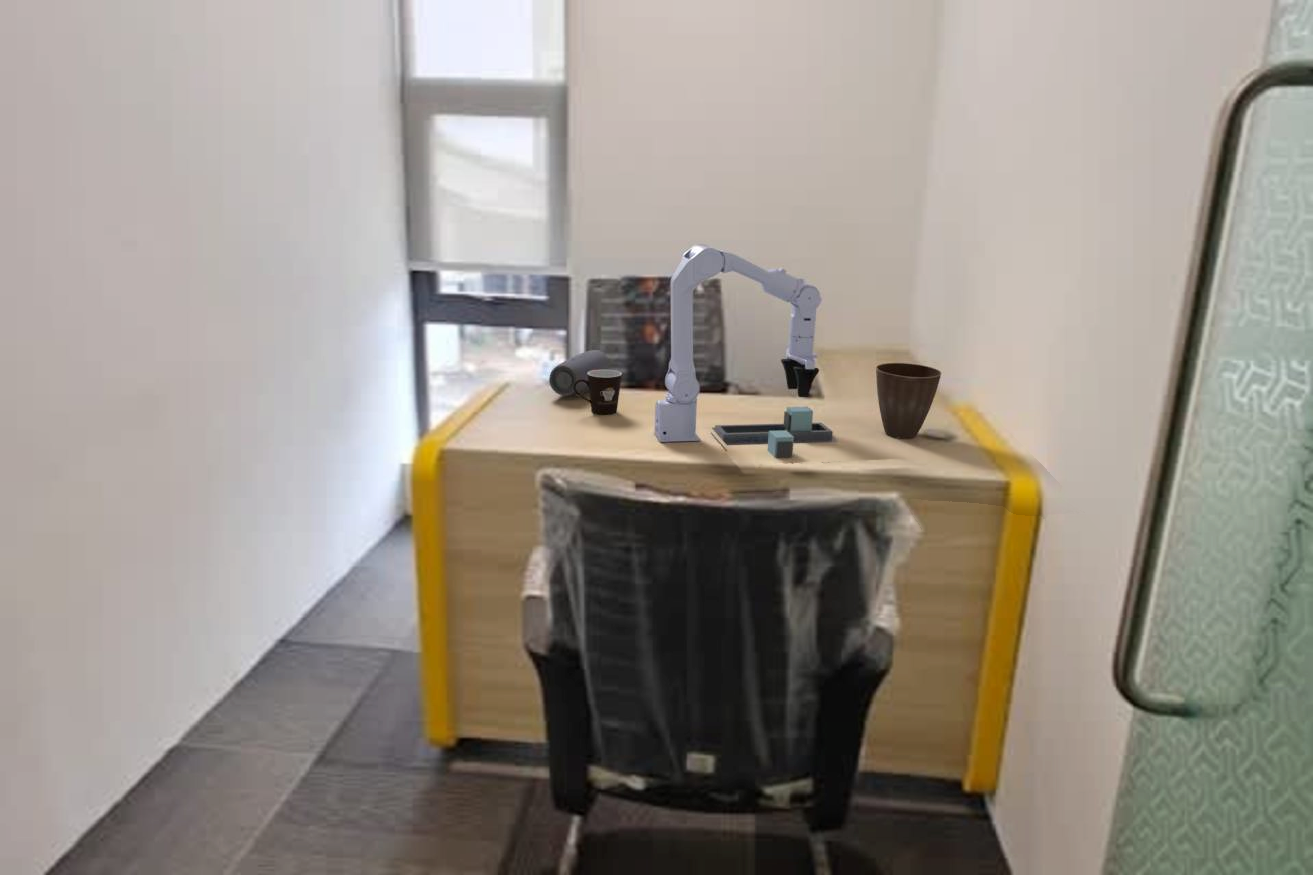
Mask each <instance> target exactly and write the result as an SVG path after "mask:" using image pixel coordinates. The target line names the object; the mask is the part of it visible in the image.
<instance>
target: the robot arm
mask: <svg viewBox="0 0 1313 875" xmlns="http://www.w3.org/2000/svg"><path fill="white" fill-rule="evenodd" d="M720 272H721V273H722V274H726V273H731V272H734V273H737V274H739V275H742V276H744V277H746V278H748V279H750V280H753V281H755V282H757V283H760V284H761V287H762V289H763V292H764V293H767V294H769V295H771V296H773V297H775V298H777V299H779V300H781V301H784V302H787V303H789V304H791V309H790V310H791V314H790V319H789V320H790V323H789V336H788V347H787V348H786V351H785V357H786V358H781V359H780V362H781V364H782V366H783V370H784V375H785V378H786V386H787V389H788V390H797V396H798V398H808V397H809V393H810V391H811V388H812V385H813V382H814V381H815V378H816V377H817V375H818V374H819V373H820V372H819V371H820V368H818V367H816V360H815V358H816V359H817V358H818V357H819V356H818V354H817V353H814V343H815V335H816V334H815V333H816V332H815V331H816V318H817V309H818V308H819V306H820V305H821V304H822V300H823V298H822V297H821V294H820V291H819V289H818V288H817V287H816V286H814V285H812V284H809V283H806V282H805V280H804V279H803V278H802V277H798V278H797V277H794V276H793V275H790V274H788V273H787V270H786V269H784V268H782V267H779V268H776V267H774V268H772V269H769V270H766V269H764V268H762V267H760V266H758V265H757V264H754V263H752V262H750V261H749V260H746V259H744V258H742V257H740V256H738V255H736V254H735V253H732V252H729V251H725V250H721V249H718V248H715V247H709V246H708V245H706V244H703V243H698V244H695V245H693V246H692V247H691V248H689V249H688V250H687V251H686V252H684V253H683V254H682V258H681V261H680V263H679V264H678V266H677V269H675V271H674V273H673V275H672V277H671V278H670V356H671V357H670V359H669V362H668V370H667V373H666V375H665V378H664V385H665V387H666V389H667V390H668V392H667V394H666V396H665V399H660V400H656V401H655V407H654V408H655V409H654V430H653V433H654V434H655V436H656V438H657V439H658V441H659V442H660V443H664V442H665V443H666V442H667V443H668V442H671V443H672V442H694V441H697V442H699V441H701V437H699V435H698V434H697V433H696V431H697V410H698V409H697V408H698V395H699V394H700V391H701V389H700V388H701V387H700V383H699V380H698V379H697V376H696V367H695V362H694V290H695V289H697V287H699V286H700V284H702V283H703V282H704V281H706V280H709V279H711V278H713V277H716V276H717V275H719V273H720Z"/></svg>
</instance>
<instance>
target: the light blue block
mask: <svg viewBox="0 0 1313 875" xmlns="http://www.w3.org/2000/svg"><path fill="white" fill-rule="evenodd" d="M813 417H814V411H813V410H812V409H811V408H810V407H808V406H787V407H786V411H784V415H783V424H784V426H783V427H785V430H786V431H812V423H813Z"/></svg>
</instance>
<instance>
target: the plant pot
mask: <svg viewBox="0 0 1313 875" xmlns="http://www.w3.org/2000/svg"><path fill="white" fill-rule="evenodd" d="M875 373H876V376H875V377H876V390H877V391H876V392H877V402H878V406H879V413H880V418H881V422H882V426H883V430H884V433H885V435H887V436H890V437H892V438H896V437H899V438H898V439H904V438H909V439H911V438H910V437H914V438H916V437H917V436H918V434H919V433H920V430H921V429H922V426H923V425H924V422H925V421H926V418H927V416H928V414H929V412H930V409H931V408H932V404H933V402H934V399H935V396H936V393H937V390H938V386H939V383H940V380H941V378H942V377H941V376H942V371H940V370H939V369H937V368H934V367H931V366H927V365H921V364H916V363H906V362H904V363H903V362H888V363H881V364H878V365H877V366H876V367H875ZM915 436H916V437H915Z"/></svg>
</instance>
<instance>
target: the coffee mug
mask: <svg viewBox="0 0 1313 875" xmlns="http://www.w3.org/2000/svg"><path fill="white" fill-rule="evenodd" d="M622 373H623V372H621V371H619V370H614V369H609V370H593V371H589V372H588V373H587V374H588V381H586V380H584V379H580V380H577V381H576V382H575V383H574V386H573V389H574V391H575V392H576V393H577V394H578V395H577V396H578V397H580V398H582V399H583V400H585V401H587V402H589V404H590V408H591V411H590V412H591V413H592V414H594V415H597V416H613V415H615V414H617V413H618V405H619V404H618V403H619V399H620V398H619V397H620V389H621V384H622V375H623V374H622ZM579 382H585V383H586V384H587V386H588V387H589V390H588V392H589V398H587V397H586V396H584V395H582V394H579V393H578V392H577V391H576V384H577V383H579Z"/></svg>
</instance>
